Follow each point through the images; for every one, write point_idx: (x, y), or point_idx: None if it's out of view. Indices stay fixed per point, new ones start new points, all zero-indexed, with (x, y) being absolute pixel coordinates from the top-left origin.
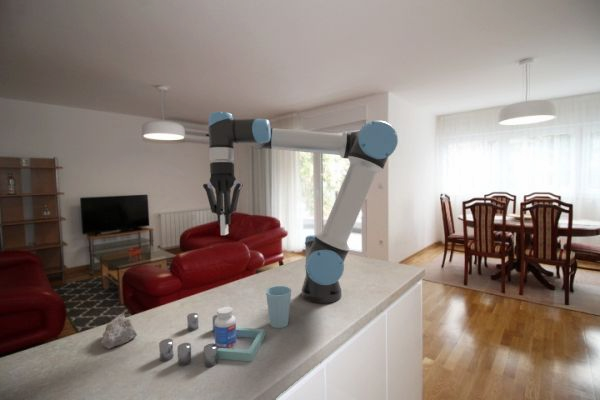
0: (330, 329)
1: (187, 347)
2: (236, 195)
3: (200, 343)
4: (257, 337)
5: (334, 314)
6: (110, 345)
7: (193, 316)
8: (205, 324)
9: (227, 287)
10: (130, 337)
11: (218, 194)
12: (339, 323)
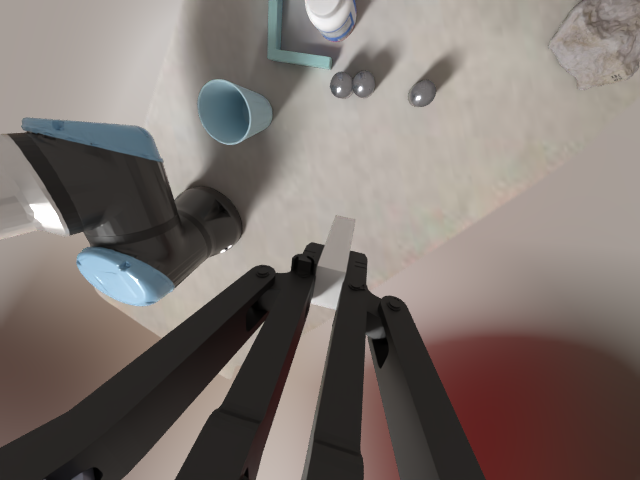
0: (173, 88)
1: None
2: (139, 362)
3: (390, 26)
4: (273, 20)
5: (178, 144)
6: None
7: (420, 87)
8: (395, 112)
9: (380, 272)
10: (565, 19)
11: (328, 434)
12: (164, 110)
